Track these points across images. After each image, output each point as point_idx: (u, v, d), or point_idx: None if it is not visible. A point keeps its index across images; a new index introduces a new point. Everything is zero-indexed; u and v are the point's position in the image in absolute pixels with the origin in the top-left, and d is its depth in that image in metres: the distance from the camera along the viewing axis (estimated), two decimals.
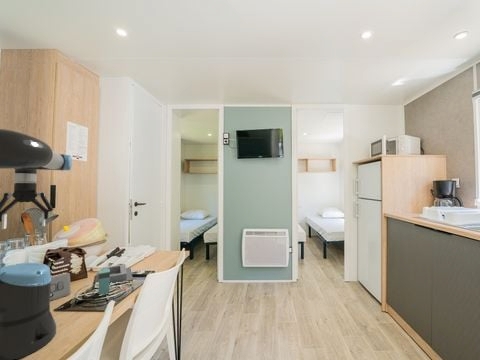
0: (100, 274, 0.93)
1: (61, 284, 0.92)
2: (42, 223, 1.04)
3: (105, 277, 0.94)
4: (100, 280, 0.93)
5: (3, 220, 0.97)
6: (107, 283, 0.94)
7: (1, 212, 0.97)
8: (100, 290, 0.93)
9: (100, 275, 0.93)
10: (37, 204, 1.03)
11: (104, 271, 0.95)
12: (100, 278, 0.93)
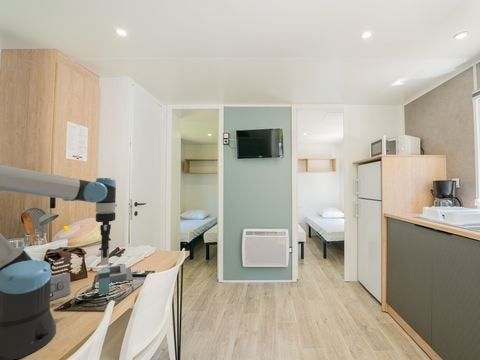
0: (100, 274, 0.93)
1: (61, 284, 0.92)
2: None
3: (105, 277, 0.94)
4: (100, 280, 0.93)
5: None
6: (107, 283, 0.94)
7: None
8: (100, 290, 0.93)
9: (100, 275, 0.93)
10: None
11: (104, 271, 0.95)
12: (100, 278, 0.93)
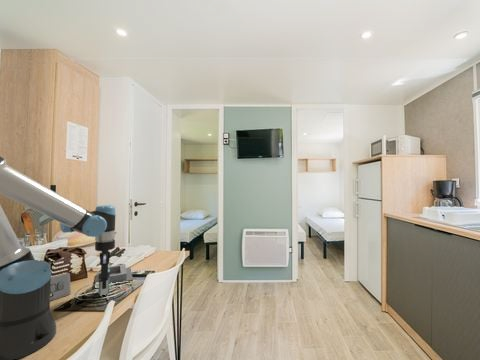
0: (100, 274, 0.93)
1: (61, 284, 0.92)
2: (100, 292, 0.93)
3: None
4: None
5: None
6: None
7: None
8: (100, 290, 0.93)
9: (100, 275, 0.93)
10: None
11: None
12: (100, 278, 0.93)
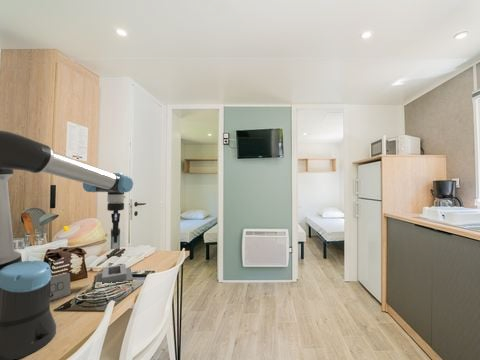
0: (112, 230, 1.09)
1: (61, 284, 0.92)
2: (112, 246, 1.09)
3: None
4: None
5: None
6: (118, 238, 1.10)
7: None
8: None
9: (112, 231, 1.09)
10: None
11: None
12: None
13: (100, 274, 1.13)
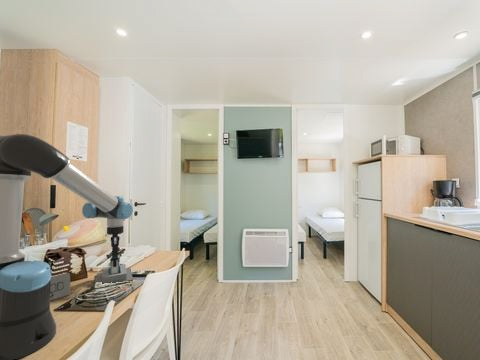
0: (111, 259, 1.09)
1: (61, 284, 0.92)
2: (111, 270, 1.07)
3: None
4: (111, 264, 1.09)
5: None
6: None
7: None
8: None
9: None
10: None
11: None
12: (111, 262, 1.09)
13: (100, 274, 1.13)
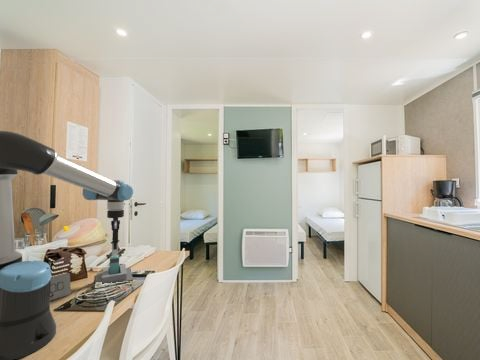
0: (111, 259, 1.09)
1: (61, 284, 0.92)
2: None
3: (115, 262, 1.10)
4: (111, 264, 1.09)
5: (112, 247, 1.11)
6: (117, 267, 1.10)
7: (112, 240, 1.12)
8: (111, 273, 1.09)
9: (111, 260, 1.09)
10: None
11: (114, 257, 1.11)
12: (111, 262, 1.09)
13: (100, 274, 1.13)
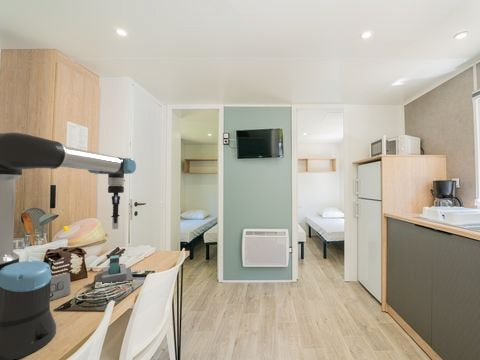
0: (111, 259, 1.09)
1: (61, 284, 0.92)
2: (112, 226, 1.16)
3: (115, 262, 1.10)
4: (111, 264, 1.09)
5: None
6: (117, 267, 1.10)
7: None
8: (111, 273, 1.09)
9: (111, 260, 1.09)
10: None
11: (114, 257, 1.11)
12: (111, 262, 1.09)
13: (100, 274, 1.13)
